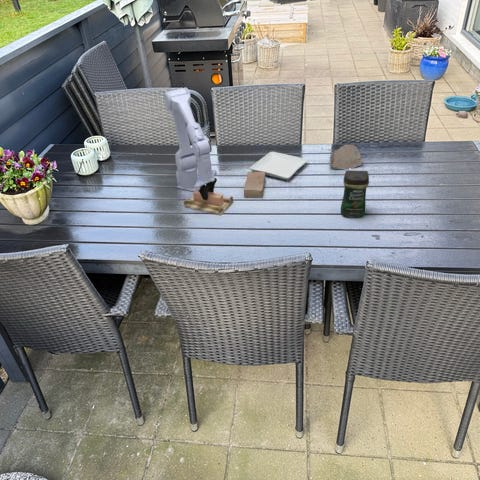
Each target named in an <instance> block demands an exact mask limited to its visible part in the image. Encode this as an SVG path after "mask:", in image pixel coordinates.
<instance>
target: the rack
mask: <svg viewBox="0 0 480 480" xmlns="http://www.w3.org/2000/svg"><path fill="white" fill-rule="evenodd" d="M223 200H224V204H223V205H222V206H221V207H219V206H215V205H210V204H206V203H201V202H197V201H194V198H193V197H191V199H189V198H186V199H184V200H183V206H184V208H187V209H192V210H196V211H200V212H205V213H209V214H212V215H216V216H222V215H223V214H225V212H226V211H227V210H228V209H229V208H230V207H231V205H233V203H234V196H232V195H230V196H229V198H227V197H223Z"/></svg>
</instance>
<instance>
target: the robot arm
mask: <svg viewBox="0 0 480 480" xmlns="http://www.w3.org/2000/svg"><path fill="white" fill-rule="evenodd" d="M191 99H192V96H191V92H190V90H189V88H187V87H181V88H178V89H174V90H170V91H165V92H164V93H163V100H164V104H165V108H166V111H167V112H170V113H171V116H172V120H173V121H172V122H173V124H174V129H175V132H176V133H175V134H176V138H177V143H178V145H179V146H178V147H179V149H178V150H177V151H176V153H175V154H174V157H175V159H174V160H175V165H176V168H177V169H176V172H175V173H176V174H175V175H176V182H177V186H176V188H177V189H181V190H185V191H189V192H194V191H195V190H198V191H199V192H200V194H201V196H202V199H203V200H208V192H213V193H215V185H216V184H217V181H218V179H217V178H216V177H215V176H217V174H218V173H217V169H212V161H211V153H212V151H213V148H212V143H211V141H210V139H209V138H208V137H207V136H206V135H205V134H204V131H203V129H202V127H201V125H200V123H198V122H196V120H195V117H194V114H193V111H192V108H191V104H192V103H191V101H192V100H191Z"/></svg>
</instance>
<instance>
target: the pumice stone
mask: <svg viewBox="0 0 480 480" xmlns="http://www.w3.org/2000/svg"><path fill="white" fill-rule="evenodd" d="M363 162H364V161H363V158H362V155H361V153H360V151H359V149H358V147H357V146H356V145H354V144H344V145H342V146H340V147H339V149H334V152H333V154H332V156H331V158H330V165H329V166H330V168H332V169H334V170H336V169H337V170H343V169H344V170H345V169H346V170H350V169H349V168H351V169H355V168H357V167H360V166H362V164H363Z"/></svg>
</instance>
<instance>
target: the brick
mask: <svg viewBox="0 0 480 480" xmlns="http://www.w3.org/2000/svg"><path fill="white" fill-rule="evenodd" d="M265 183H266V175H265V172H254V171H252V172H247V173H246V180H245V183H244V186H243V197H244V198H245V199H262V198H263V196H264V194H263V193H264V189H265Z"/></svg>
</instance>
